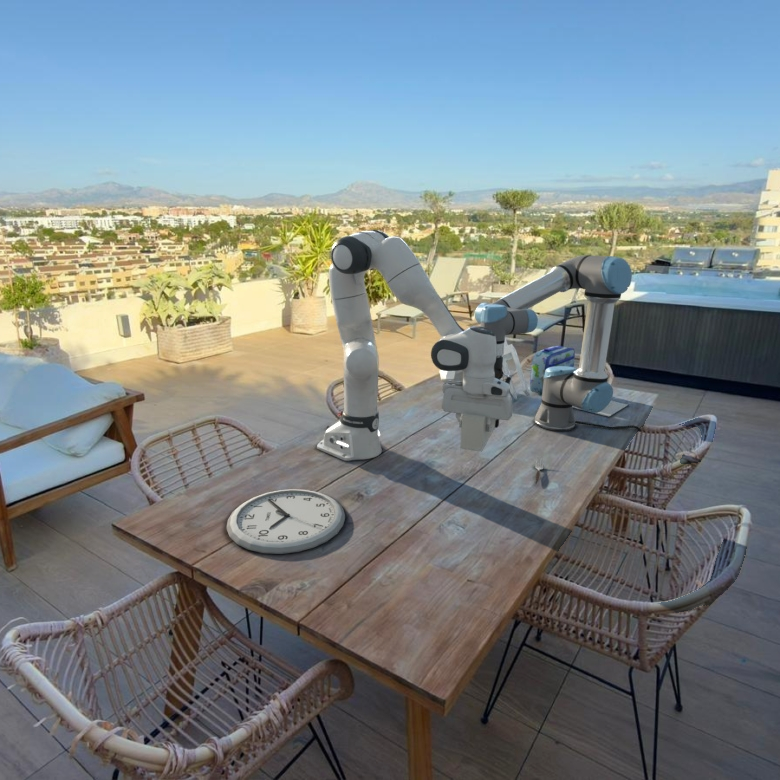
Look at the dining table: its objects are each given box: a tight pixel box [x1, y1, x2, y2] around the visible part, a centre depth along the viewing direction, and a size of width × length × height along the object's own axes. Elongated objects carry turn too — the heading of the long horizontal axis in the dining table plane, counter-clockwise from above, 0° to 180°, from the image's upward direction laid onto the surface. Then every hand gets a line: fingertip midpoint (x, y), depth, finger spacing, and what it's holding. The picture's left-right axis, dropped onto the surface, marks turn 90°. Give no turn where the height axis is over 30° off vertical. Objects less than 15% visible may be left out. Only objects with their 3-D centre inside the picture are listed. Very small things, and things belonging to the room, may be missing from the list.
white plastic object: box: [438, 336, 531, 400], centre depth 245 cm, size 37×45×31 cm
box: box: [459, 413, 496, 453], centre depth 160 cm, size 25×6×10 cm, turn 158°
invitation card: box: [573, 400, 629, 418], centre depth 226 cm, size 21×1×15 cm
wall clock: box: [226, 488, 346, 555], centre depth 135 cm, size 30×2×30 cm
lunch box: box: [529, 345, 576, 394], centre depth 244 cm, size 26×11×21 cm, turn 135°
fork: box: [534, 457, 545, 484], centre depth 163 cm, size 3×16×2 cm, turn 160°
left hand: (475, 429), depth 153 cm, fingers closed on box, 6 cm apart
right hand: (485, 424), depth 169 cm, fingers closed on box, 6 cm apart
